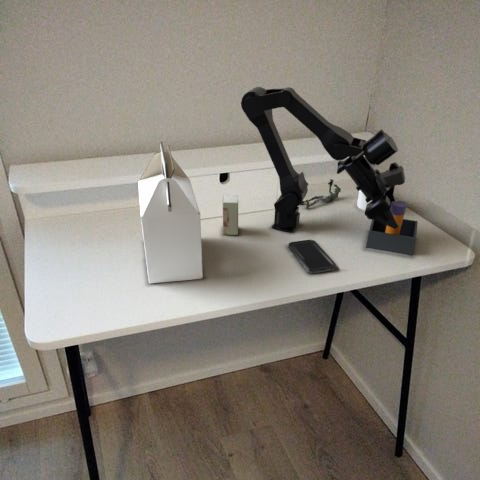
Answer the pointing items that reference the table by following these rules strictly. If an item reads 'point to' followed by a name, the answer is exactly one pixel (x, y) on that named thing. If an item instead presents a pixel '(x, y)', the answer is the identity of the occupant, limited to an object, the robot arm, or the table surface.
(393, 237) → the organizer
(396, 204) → the glue stick
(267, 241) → the table surface
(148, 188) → the gable box
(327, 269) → the phone
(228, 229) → the cosmetics bottle
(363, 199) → the mug
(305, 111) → the robot arm
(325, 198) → the zombie figurine
